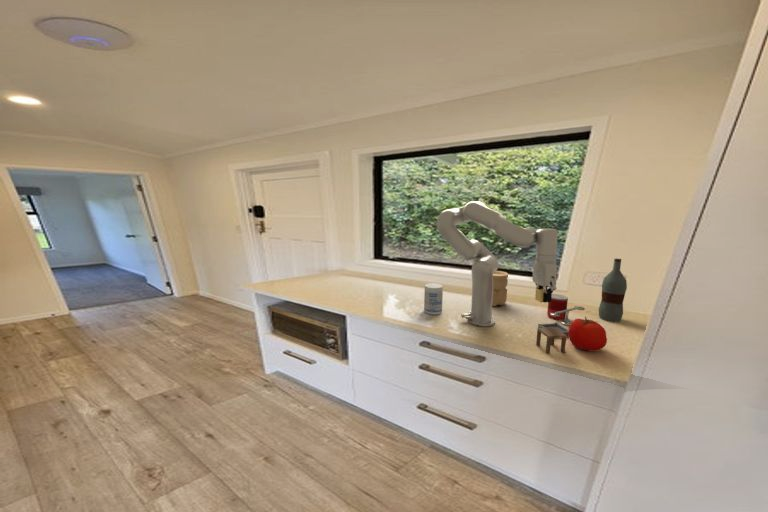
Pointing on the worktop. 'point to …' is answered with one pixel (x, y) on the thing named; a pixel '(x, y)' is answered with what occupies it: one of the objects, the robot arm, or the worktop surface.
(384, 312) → the worktop surface
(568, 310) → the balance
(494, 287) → the container
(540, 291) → the block
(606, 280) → the bottle
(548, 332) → the small wooden table
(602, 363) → the worktop surface
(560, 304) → the canned food
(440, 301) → the supplement tub
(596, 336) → the tomato
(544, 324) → the dish
